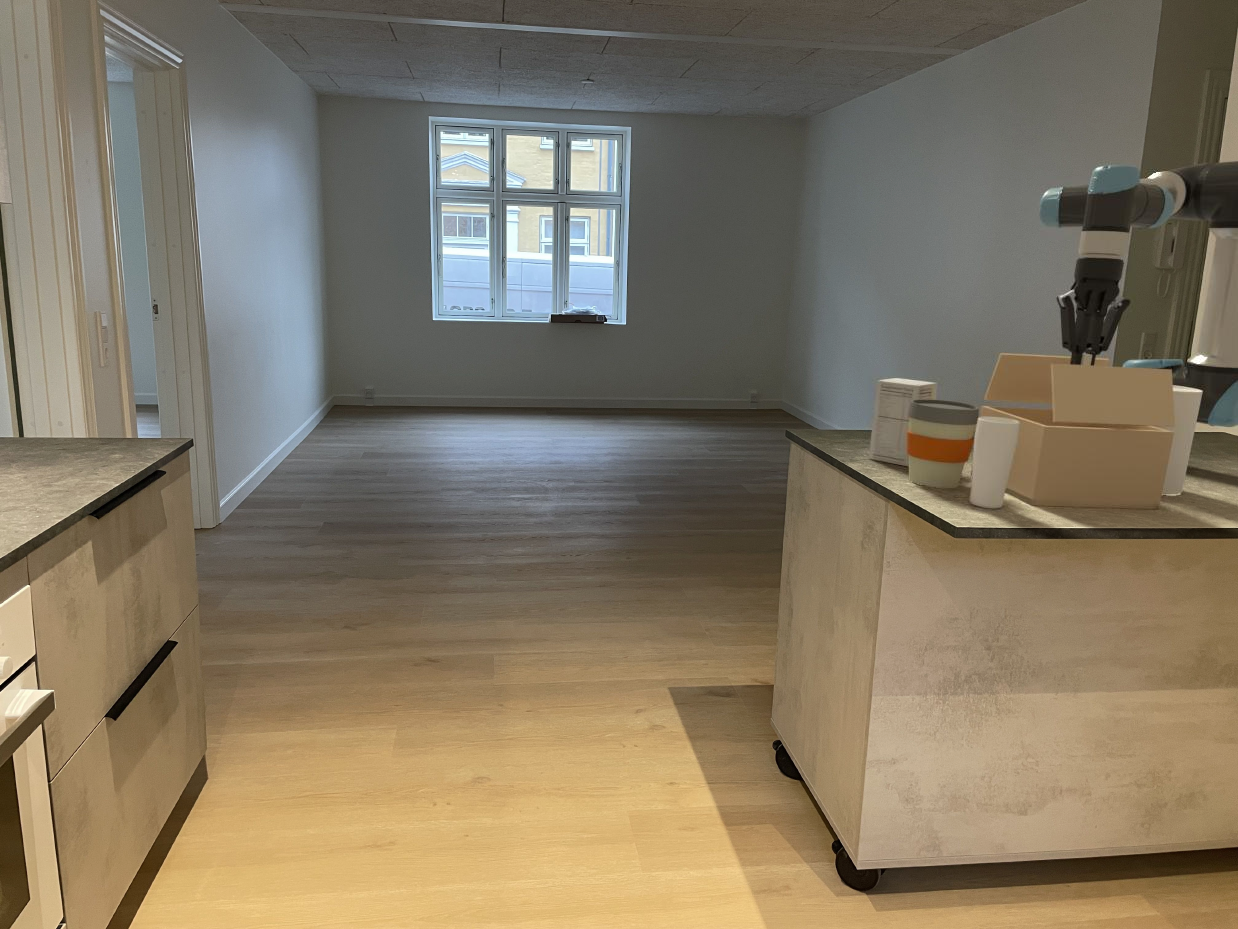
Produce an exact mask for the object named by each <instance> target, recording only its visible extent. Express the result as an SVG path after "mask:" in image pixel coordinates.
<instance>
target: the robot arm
mask: <svg viewBox="0 0 1238 929" xmlns="http://www.w3.org/2000/svg"><path fill="white" fill-rule="evenodd" d="M1038 207H1039V210H1038V217H1039V219H1040V222H1041V223H1042V224H1043V225H1044V226H1046V227H1049V228H1059V229H1061V228H1082V229H1081V234H1080V239H1079V246H1078V251H1077V252H1078V254H1079V255H1080V256H1081V257H1078V258H1077V259H1076V262H1075V267H1074V268H1075V269H1074V275H1073V276H1074V278H1073V279H1074V282H1073V283H1072V285H1071V287H1070V291H1068V292H1066V293H1064V294H1059V295H1057V296H1056V297H1055V300H1056V302H1057V304H1058V306H1059V309H1060V310H1059V312H1060V327H1061V328H1060V329H1061V332H1060V333H1061V345H1062V348H1063V349H1066V350H1068V352H1070V353H1071V355H1070V357H1071V361H1070V364H1071V365H1090V366H1094V363H1095V358H1097V356H1099V355H1100V354H1101V353H1102V352H1107V351H1109V348H1110V345H1111V343H1112V340H1113V339H1114V336H1115V333H1116V331H1117V328H1118V326H1119V325H1120V324H1119V323H1120V322H1121V318H1122V316H1123V313H1124V312H1125V310H1127V308H1128V307H1129V306H1130V304H1131V299H1128V298H1124V297H1123V296H1122V295H1121V294H1120V292H1121V291H1120V287H1119V282H1120V280H1121V279H1122V278H1123V277H1122V276H1123V272H1124V271H1123V270H1124V265H1125V261H1124V260H1123V259H1122V258H1123V257H1125V256H1126V255H1127V250H1128V244H1129V238H1130V231H1131V228H1137V229H1139V230H1141V229H1142V230H1143V229H1155V228H1159V227H1161V226H1162V225H1163V224H1164V223H1166V222H1167V221H1168V220H1169V219H1176V220H1188V221H1189V220H1190V221H1205V222H1207V221H1210V222H1209V228H1208V231H1210V232H1211V234H1212V235H1213V236H1214V237H1215V244H1214V249H1213V254H1212V260H1211V266H1210V273H1209V278H1208V286H1207V291H1206V297H1205V301H1204V302H1205V304H1204V307H1203V315H1202V320H1201V326H1200V333H1199V338H1198V345H1197V350H1196V353H1195V354H1194V355H1192V356H1190V357H1189V358H1188V359H1187V361H1186V364H1185V366H1184V361H1183V360H1182V359H1180V358H1177V359H1176V358H1175V359H1172V358H1171V359H1166V358H1163V359H1162V358H1159V359H1156V358H1155V359H1129V360H1127V361H1125V362H1124V363H1123V364H1122V367H1130V368H1150V369H1169V370H1172V382H1173V385H1175V386H1183V387H1189V388H1194V389H1199V390H1202V391H1203V392H1202V397H1201V402H1200V407H1199V412H1198V416H1197V421H1196V424H1198V423H1199V424H1204V425H1208V426H1211V427H1215V426H1216V427H1225V428H1233V427H1236V426H1238V161H1236V160H1235V161H1224V162H1223V161H1222V162H1221V161H1220V162H1204V163H1197V164H1192V165H1188V166H1184V167H1183V166H1182V167H1178V168H1175V169H1170V170H1165V171H1159V172H1156V173H1153V174H1151V175H1149V177H1147V178H1141V171H1140V168H1139V167H1137V166H1135V165H1130V164H1128V165H1127V164H1126V165H1124V164H1112V165H1110V164H1108V165H1101V166H1098V167H1096V168H1095V169H1094V170H1093V171H1092V174H1091V177H1090V181H1089V185H1077V186H1061V187H1052V188H1049V189H1048V190H1046V191H1045V192H1044V193H1043V195H1042V197H1041V199H1040V202H1039V205H1038ZM1074 304H1076V308H1075V305H1074ZM1110 305H1111V306H1110ZM1109 306H1110V307H1109Z"/></svg>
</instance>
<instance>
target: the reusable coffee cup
mask: <svg viewBox="0 0 1238 929" xmlns="http://www.w3.org/2000/svg"><path fill="white" fill-rule="evenodd" d="M979 408H980V407H979V406H977V405H974V404H971V403H967V402H961V401H960V402H959V401H954V400H953V401H952V400H945V399H936V400H933V399H915V400H911V403H910V407H909V411H908V416H909V429H908V430H907V454H908V455H909V466H908V480H909V481H910V482H911V481H912V482H911V483H913V482H914V483H913V484H916V483H918V484H917V485H919V484H921V485H920V486H923V485H925V486H924V487H928V486H929V487H930V488H934V487H936V488H935V489H955V488H958V487H959V485H960V481H961V477H962V474H963V472H964V471H963V470H964V468H965V467H964V466H965V464H966V463H967V462H968V461H969V459H970V455H971V452H972V450H973V449H972V448H973V446H974V437H975V436H974V434H975V430H976V425H977V420H978V418H979V417H980V410H979Z"/></svg>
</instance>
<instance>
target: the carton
mask: <svg viewBox="0 0 1238 929" xmlns="http://www.w3.org/2000/svg"><path fill="white" fill-rule="evenodd" d="M979 417H1000V418H1007V419H1012V420H1016V421H1019V422H1020V426H1019V435H1018V441H1017V447H1016V451H1015V455H1014V459H1013V463H1012V466H1011V470H1010V474H1009V478H1008V482H1007V486H1006V490H1005V494H1008V495H1009V496H1011V497H1014V498H1015V499H1018V500H1020V501H1022V502H1024V503H1026V504H1028V505H1030V506H1038V507H1039V506H1041V507H1042V506H1044V507H1045V506H1047V507H1075V508H1103V509H1106V508H1107V509H1134V510H1138V509H1139V510H1159V509H1160V505H1161V500H1162V497H1163V496H1162V491H1163V486H1164V481H1165V476H1166V471H1167V466H1168V461H1169V456H1170V451H1171V446H1172V441H1173V436H1174V432H1172V431H1168V430H1164V429H1161V428H1157V427H1153V426H1140V425H1117V424H1094V423H1071V422H1053V408H1040V407H1039V408H1036V407H1035V408H1034V407H1017V406H1016V407H1015V406H1014V407H1013V406H989V405H981V406H980V410H979ZM972 466H973V462H972V464H971V467H972ZM970 476H971V477H972V469H971V470H970Z"/></svg>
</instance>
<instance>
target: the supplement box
mask: <svg viewBox="0 0 1238 929" xmlns="http://www.w3.org/2000/svg"><path fill="white" fill-rule="evenodd" d="M937 392H938V383H937V382H932V381H931V382H930V381H924V380H916V379H915V380H914V379H907V378H901V377H899V378H898V377H895V378H885V379H880V380H877V384H876V392H875V401H874V408H873V409H874V410H873V416H872V417H873V418H872V425H871V435H870V442H869V443H870V444H869V450H868V451H869V453H868V460H873V461H879V462H885V463H889V464H892V465H893V464H895V465H899V466H903V467H909V455H908V454H907V430H908V429H909V416H908V411H909V407H910V403H911V400H915V399H933V400H937Z"/></svg>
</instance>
